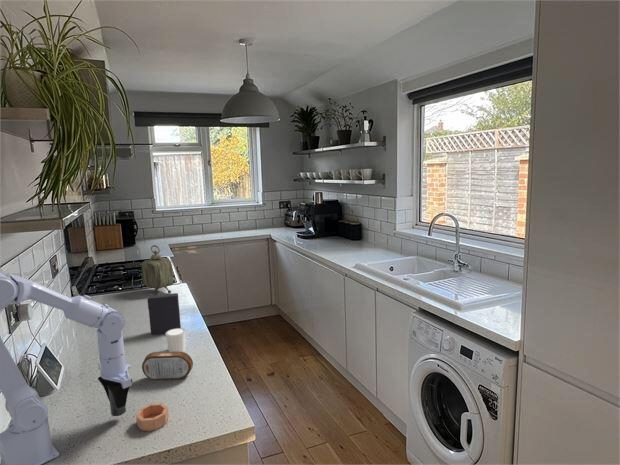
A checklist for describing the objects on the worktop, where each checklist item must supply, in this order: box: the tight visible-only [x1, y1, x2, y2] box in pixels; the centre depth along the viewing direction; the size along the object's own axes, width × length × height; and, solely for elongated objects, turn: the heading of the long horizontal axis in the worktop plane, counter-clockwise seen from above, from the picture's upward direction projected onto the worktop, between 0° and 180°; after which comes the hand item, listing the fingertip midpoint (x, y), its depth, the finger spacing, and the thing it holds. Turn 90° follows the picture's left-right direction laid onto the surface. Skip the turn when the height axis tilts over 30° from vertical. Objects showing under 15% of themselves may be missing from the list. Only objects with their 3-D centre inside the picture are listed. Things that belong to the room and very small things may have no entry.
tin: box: [141, 351, 194, 381], centre depth 126 cm, size 15×3×8 cm, turn 92°
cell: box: [108, 382, 127, 417], centre depth 105 cm, size 4×4×8 cm
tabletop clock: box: [140, 244, 174, 295], centre depth 207 cm, size 14×9×25 cm, turn 53°
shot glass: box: [164, 327, 187, 352], centre depth 144 cm, size 7×7×7 cm
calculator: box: [147, 292, 182, 336], centre depth 160 cm, size 11×4×15 cm, turn 104°
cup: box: [135, 402, 170, 432], centre depth 105 cm, size 7×7×3 cm
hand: (117, 403), depth 106 cm, fingers closed on cell, 3 cm apart
